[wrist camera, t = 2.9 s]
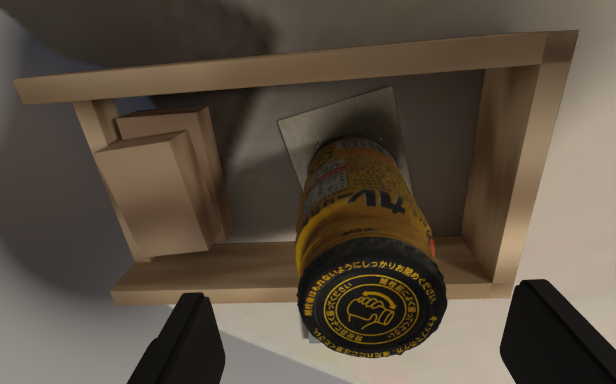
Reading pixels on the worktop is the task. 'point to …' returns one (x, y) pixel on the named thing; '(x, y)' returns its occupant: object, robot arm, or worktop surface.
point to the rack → (342, 66)
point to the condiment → (361, 231)
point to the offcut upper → (161, 193)
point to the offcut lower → (203, 144)
